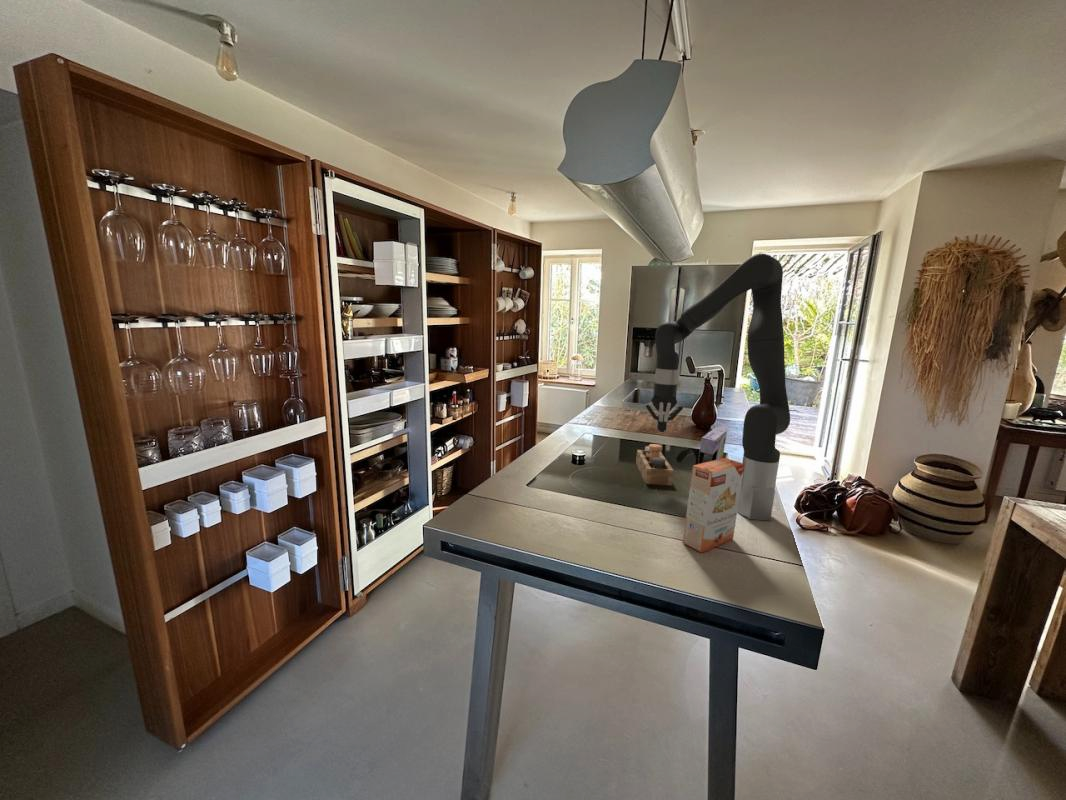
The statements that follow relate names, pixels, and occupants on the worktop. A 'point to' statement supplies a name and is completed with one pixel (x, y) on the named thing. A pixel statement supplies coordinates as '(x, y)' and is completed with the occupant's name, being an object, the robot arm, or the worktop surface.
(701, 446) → the cake pan box
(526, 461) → the worktop surface
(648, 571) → the worktop surface
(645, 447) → the steel plug
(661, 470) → the light wood long tray
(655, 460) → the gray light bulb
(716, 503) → the cracker box
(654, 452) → the terracotta plug
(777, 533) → the worktop surface
